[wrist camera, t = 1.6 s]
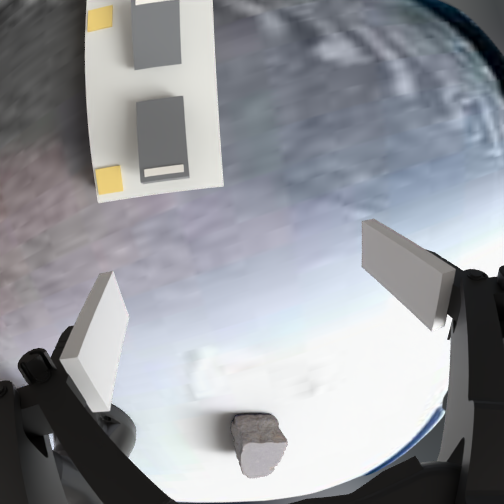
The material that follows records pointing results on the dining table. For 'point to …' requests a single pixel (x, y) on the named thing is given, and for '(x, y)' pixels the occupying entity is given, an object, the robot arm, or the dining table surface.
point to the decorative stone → (258, 443)
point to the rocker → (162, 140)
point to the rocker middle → (155, 33)
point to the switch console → (147, 88)
